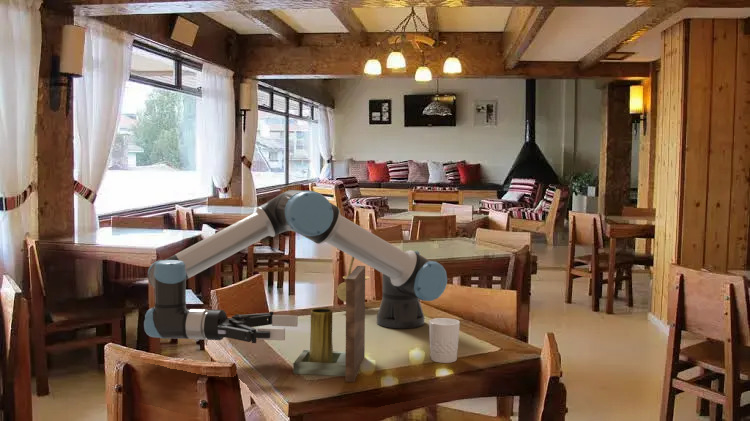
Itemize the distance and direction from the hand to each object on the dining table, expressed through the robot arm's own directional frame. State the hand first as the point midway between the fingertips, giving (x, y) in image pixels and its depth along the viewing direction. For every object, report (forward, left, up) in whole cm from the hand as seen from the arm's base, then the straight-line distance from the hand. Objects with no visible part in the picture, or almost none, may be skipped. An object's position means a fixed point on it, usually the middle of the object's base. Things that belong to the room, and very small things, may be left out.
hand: (291, 327), depth 160 cm
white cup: (-39, +2, -10) cm, 40 cm away
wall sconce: (-29, -63, -10) cm, 70 cm away
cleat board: (-9, +3, -10) cm, 14 cm away
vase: (-7, +2, -10) cm, 12 cm away
